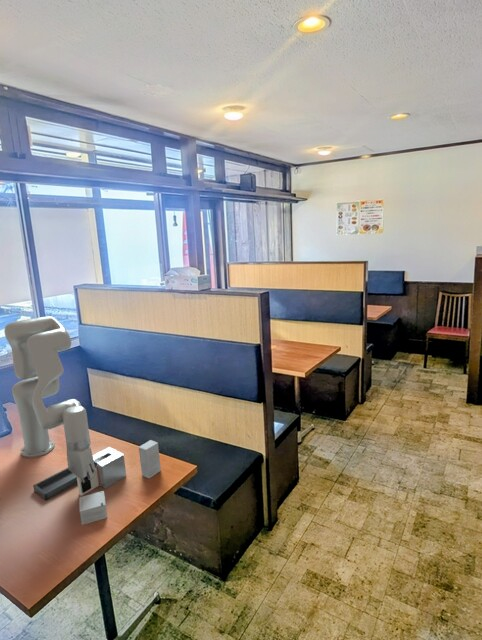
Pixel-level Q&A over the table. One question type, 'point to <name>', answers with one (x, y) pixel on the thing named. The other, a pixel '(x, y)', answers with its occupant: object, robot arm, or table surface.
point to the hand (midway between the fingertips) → (85, 489)
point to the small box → (92, 507)
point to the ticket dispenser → (109, 466)
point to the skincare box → (149, 459)
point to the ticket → (93, 482)
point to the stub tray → (55, 484)
